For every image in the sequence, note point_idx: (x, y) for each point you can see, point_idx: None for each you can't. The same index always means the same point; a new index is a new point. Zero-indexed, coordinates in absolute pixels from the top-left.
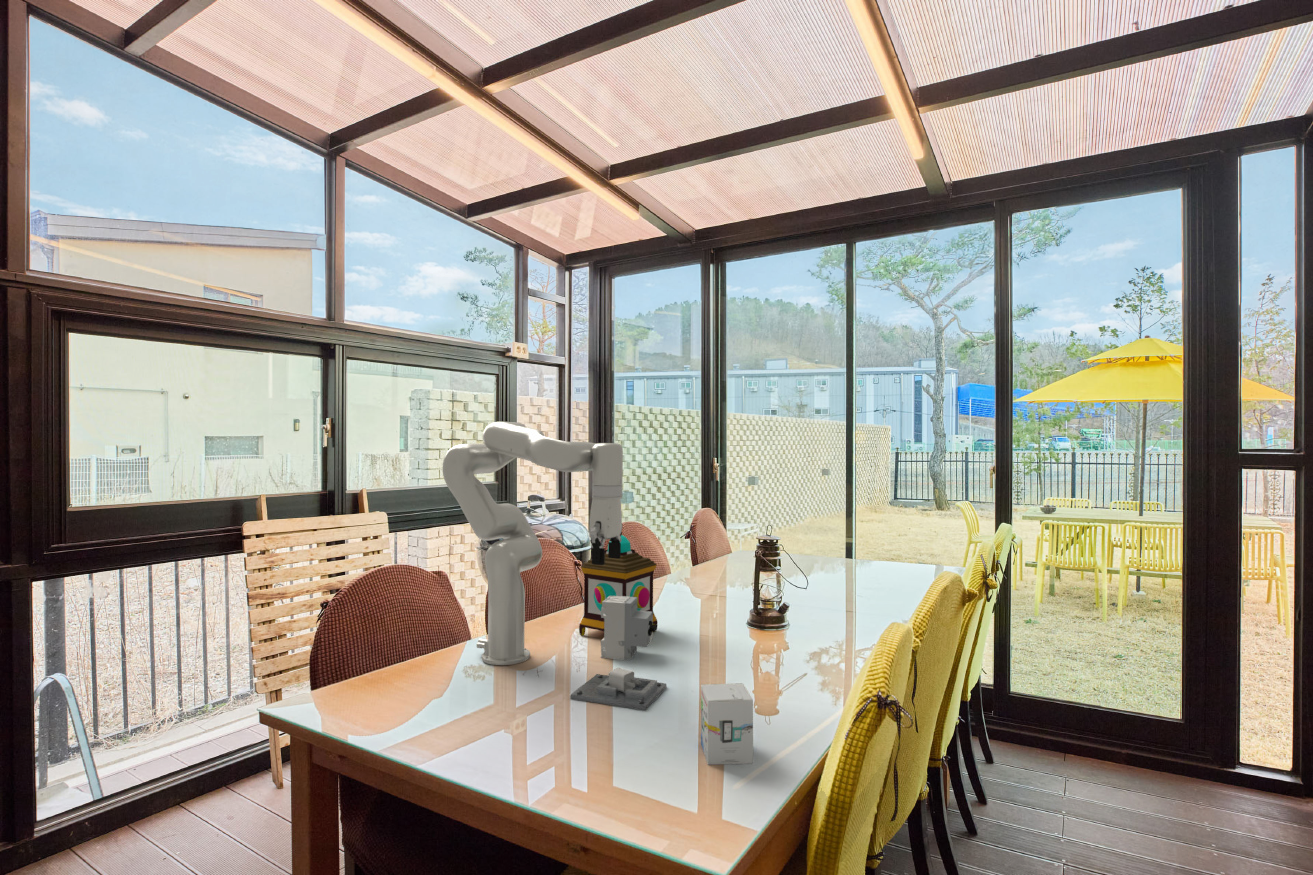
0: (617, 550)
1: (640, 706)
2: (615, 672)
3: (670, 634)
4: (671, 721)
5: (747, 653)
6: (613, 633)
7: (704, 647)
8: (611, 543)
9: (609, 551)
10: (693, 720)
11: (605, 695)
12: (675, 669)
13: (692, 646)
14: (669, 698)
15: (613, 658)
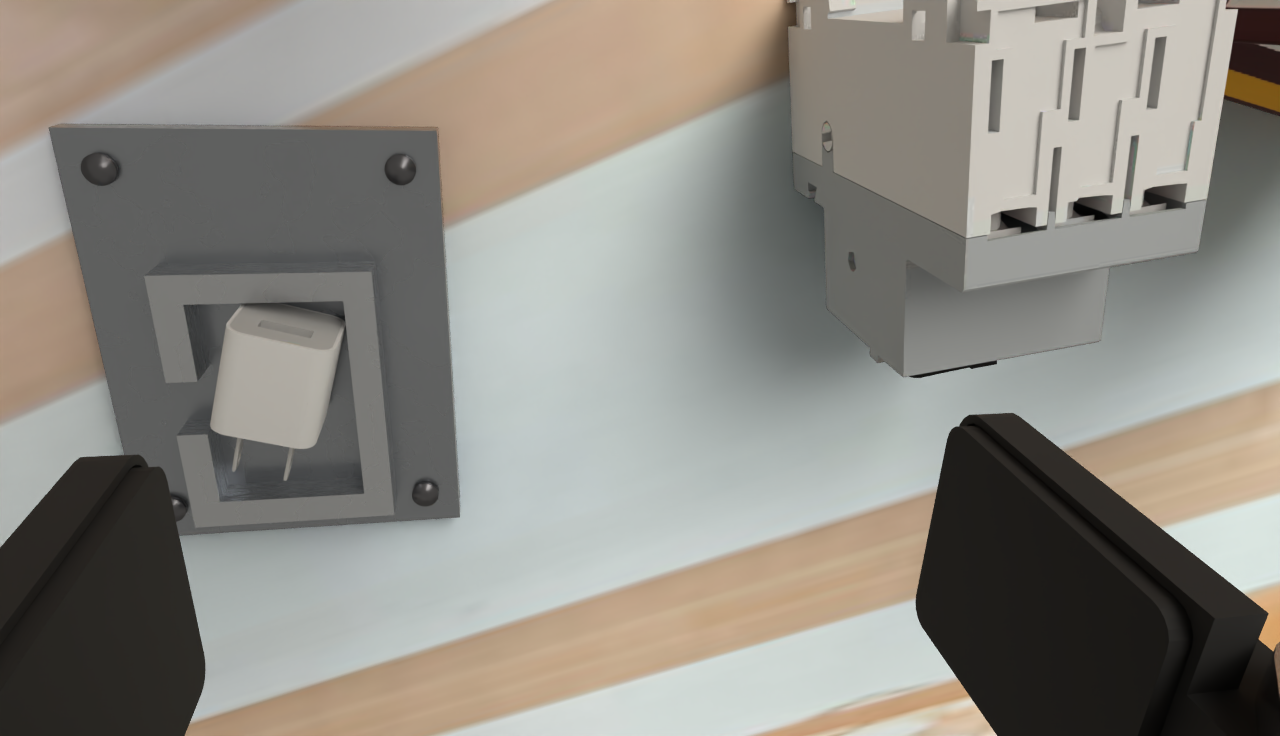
0: (994, 695)
1: None
2: (231, 369)
3: (1276, 236)
4: None
5: None
6: (852, 96)
7: None
8: (1138, 688)
9: (1019, 505)
10: None
11: (152, 319)
12: (715, 456)
13: (1075, 413)
14: (341, 560)
15: (790, 81)
